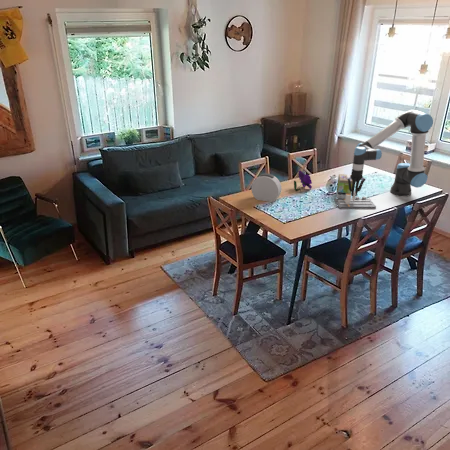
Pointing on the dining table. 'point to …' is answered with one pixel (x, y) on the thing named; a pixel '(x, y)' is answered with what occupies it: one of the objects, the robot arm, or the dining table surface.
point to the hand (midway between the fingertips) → (353, 200)
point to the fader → (347, 198)
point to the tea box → (343, 186)
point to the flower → (303, 181)
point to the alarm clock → (266, 188)
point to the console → (355, 204)
